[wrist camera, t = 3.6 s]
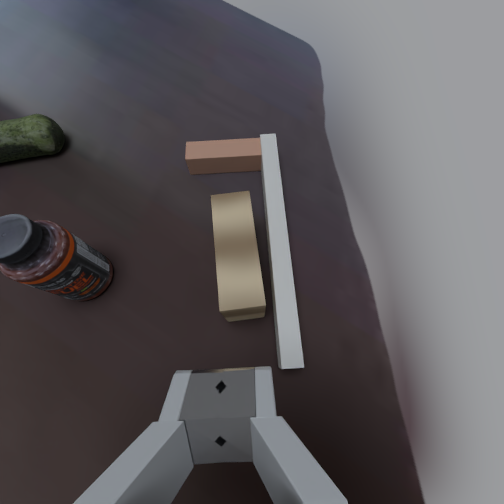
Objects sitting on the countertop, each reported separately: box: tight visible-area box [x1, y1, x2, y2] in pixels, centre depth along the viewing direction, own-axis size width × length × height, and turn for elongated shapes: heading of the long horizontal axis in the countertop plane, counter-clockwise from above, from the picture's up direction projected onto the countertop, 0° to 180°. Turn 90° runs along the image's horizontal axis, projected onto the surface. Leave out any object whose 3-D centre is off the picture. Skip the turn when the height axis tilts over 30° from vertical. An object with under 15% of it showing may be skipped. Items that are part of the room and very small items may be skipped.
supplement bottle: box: [0, 214, 113, 301], centre depth 25 cm, size 6×6×11 cm
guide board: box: [185, 134, 304, 369], centre depth 30 cm, size 28×12×4 cm, turn 3°
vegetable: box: [0, 114, 65, 163], centre depth 36 cm, size 14×5×5 cm, turn 103°
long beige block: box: [211, 191, 266, 322], centre depth 27 cm, size 12×4×7 cm, turn 7°
